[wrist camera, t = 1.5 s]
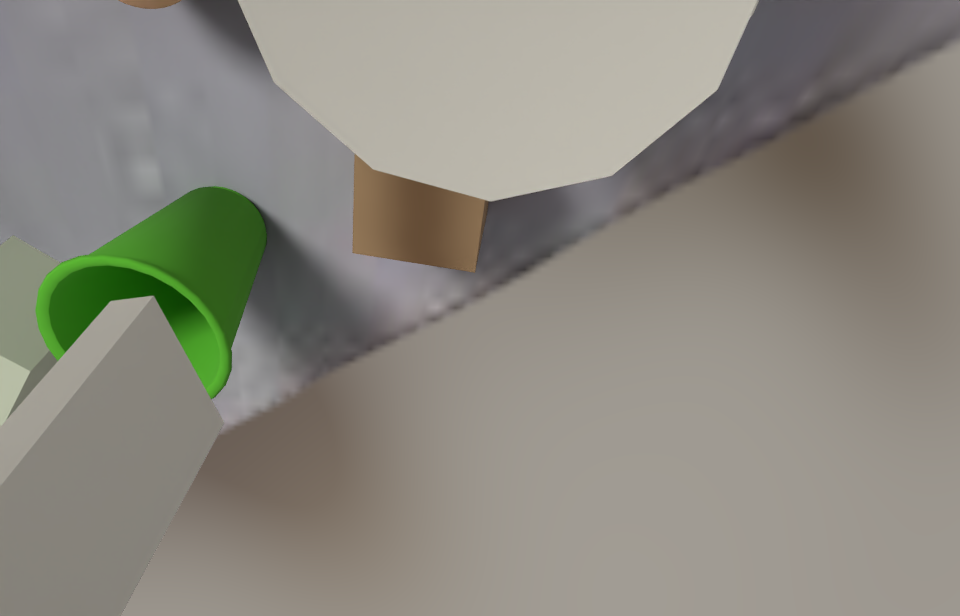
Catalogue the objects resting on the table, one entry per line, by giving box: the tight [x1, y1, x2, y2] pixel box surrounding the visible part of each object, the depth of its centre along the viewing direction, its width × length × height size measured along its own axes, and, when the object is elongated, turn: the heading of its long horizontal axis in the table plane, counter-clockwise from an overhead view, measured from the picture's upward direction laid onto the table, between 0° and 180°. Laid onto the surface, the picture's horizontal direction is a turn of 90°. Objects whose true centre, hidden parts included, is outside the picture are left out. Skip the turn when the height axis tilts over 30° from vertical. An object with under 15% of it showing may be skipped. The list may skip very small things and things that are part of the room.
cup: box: [35, 186, 267, 399], centre depth 38 cm, size 9×9×11 cm
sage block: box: [0, 236, 60, 427], centre depth 44 cm, size 6×6×8 cm
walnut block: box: [353, 154, 489, 272], centre depth 37 cm, size 6×6×6 cm
